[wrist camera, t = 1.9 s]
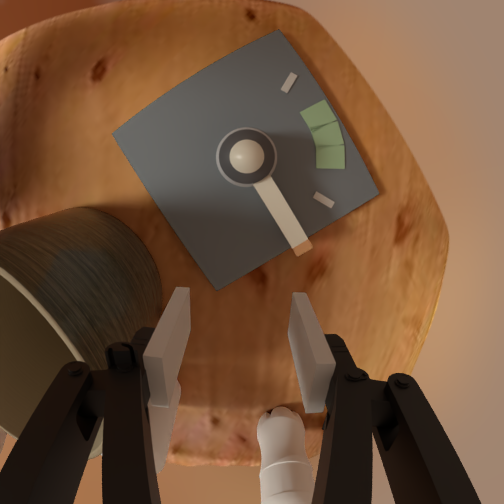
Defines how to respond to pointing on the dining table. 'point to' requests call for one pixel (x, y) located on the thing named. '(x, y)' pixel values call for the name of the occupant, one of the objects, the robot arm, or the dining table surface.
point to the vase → (2, 438)
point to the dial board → (218, 183)
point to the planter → (67, 302)
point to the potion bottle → (163, 427)
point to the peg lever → (261, 180)
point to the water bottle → (284, 459)
